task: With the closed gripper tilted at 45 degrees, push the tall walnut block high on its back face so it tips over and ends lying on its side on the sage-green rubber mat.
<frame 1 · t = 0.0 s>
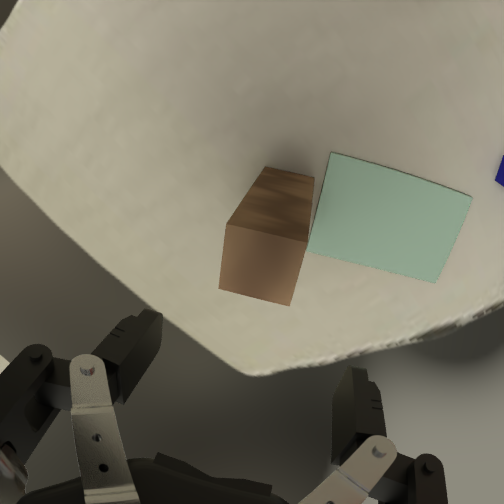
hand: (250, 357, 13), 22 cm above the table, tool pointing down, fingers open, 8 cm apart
sage mat: (391, 222, 31), on the table
walnut block: (285, 194, 33), on the table
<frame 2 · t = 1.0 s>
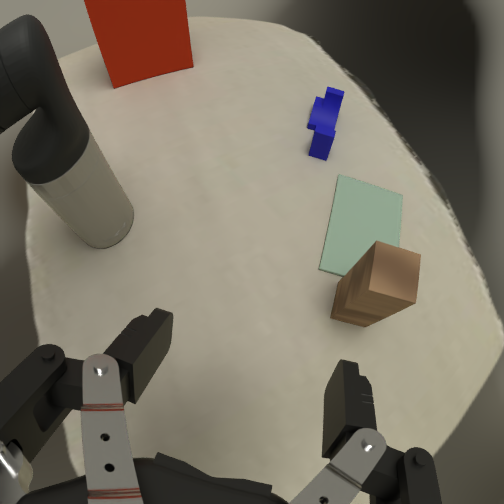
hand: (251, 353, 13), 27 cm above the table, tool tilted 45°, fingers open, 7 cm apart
file binder: (152, 69, 59), on the table
sage mat: (365, 229, 45), on the table
walnut block: (351, 304, 41), on the table
blue cradle block: (319, 133, 52), on the table
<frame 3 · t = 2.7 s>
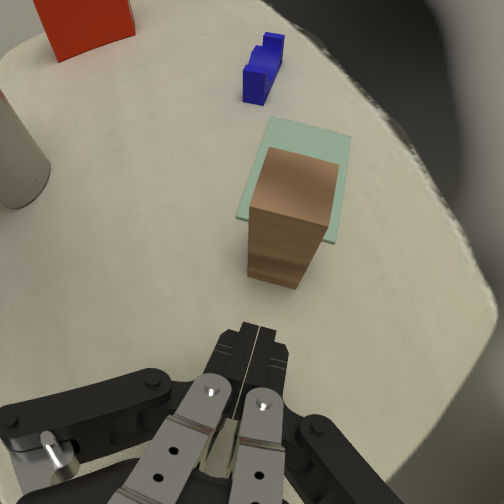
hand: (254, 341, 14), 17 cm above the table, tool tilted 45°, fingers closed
file binder: (97, 41, 51), on the table
sage mat: (299, 173, 37), on the table
walnut block: (277, 260, 33), on the table
blue cradle block: (259, 81, 45), on the table
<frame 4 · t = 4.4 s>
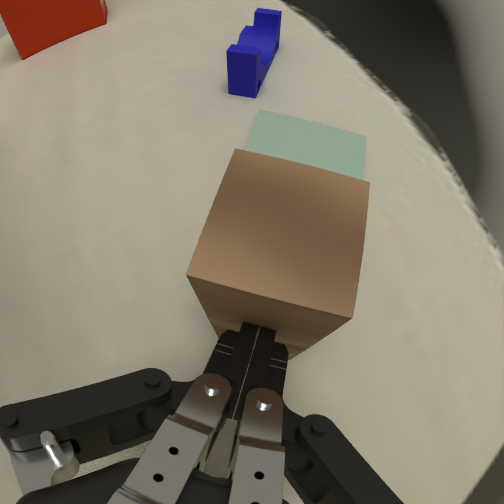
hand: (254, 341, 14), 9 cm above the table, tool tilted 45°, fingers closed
file binder: (65, 34, 41), on the table
sage mat: (297, 187, 27), on the table
walnut block: (264, 318, 23), on the table, touching gripper
blue cradle block: (250, 68, 34), on the table
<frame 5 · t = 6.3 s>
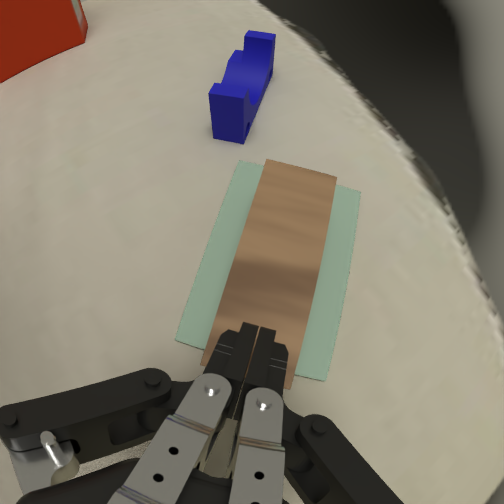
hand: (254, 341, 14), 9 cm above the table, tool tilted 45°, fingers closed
file binder: (43, 53, 39), on the table
sage mat: (278, 260, 25), on the table
walnut block: (245, 377, 19), point 3 cm above the table, tilted 90°, touching sage mat
blue cradle block: (239, 103, 32), on the table
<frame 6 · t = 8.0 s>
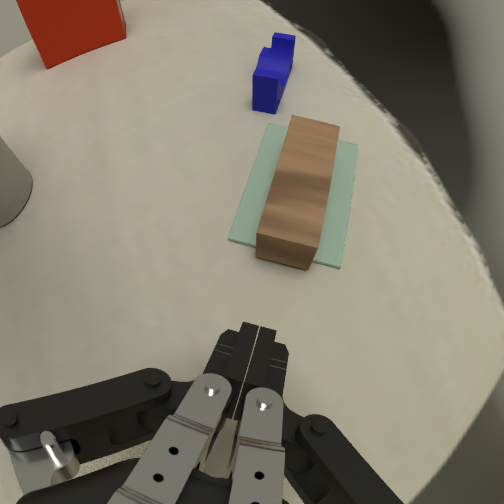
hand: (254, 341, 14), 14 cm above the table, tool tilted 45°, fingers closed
file binder: (86, 46, 49), on the table
sage mat: (300, 187, 34), on the table
walnut block: (284, 252, 27), point 3 cm above the table, tilted 90°, touching sage mat
blue cradle block: (268, 87, 41), on the table
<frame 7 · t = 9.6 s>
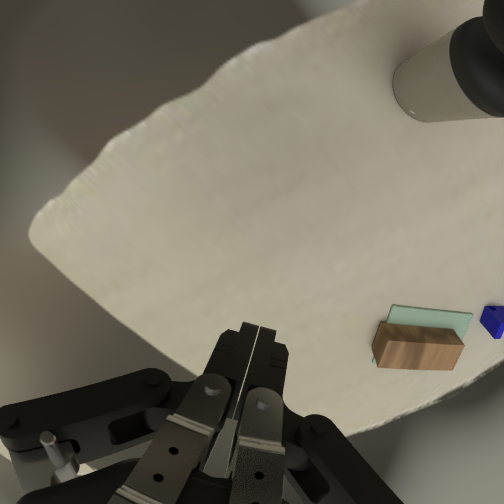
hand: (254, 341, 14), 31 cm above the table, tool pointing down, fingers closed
sage mat: (424, 338, 46), on the table
walnut block: (379, 344, 44), point 3 cm above the table, tilted 90°, touching sage mat
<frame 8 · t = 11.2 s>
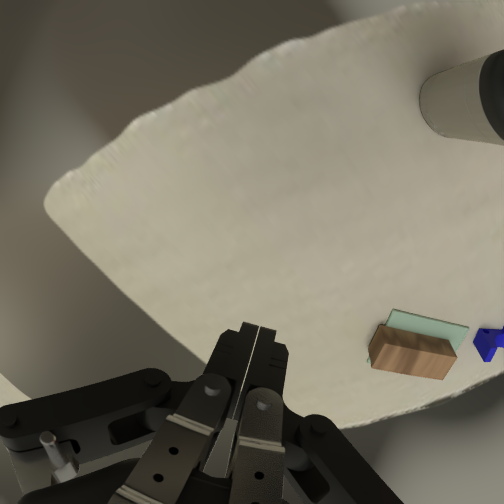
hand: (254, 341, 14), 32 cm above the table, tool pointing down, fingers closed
sage mat: (419, 345, 48), on the table
walnut block: (376, 346, 46), point 3 cm above the table, tilted 90°, touching sage mat
blue cradle block: (499, 331, 45), on the table
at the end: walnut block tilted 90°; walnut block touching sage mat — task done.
